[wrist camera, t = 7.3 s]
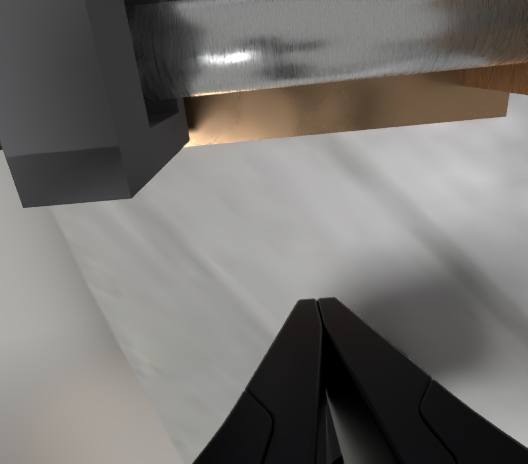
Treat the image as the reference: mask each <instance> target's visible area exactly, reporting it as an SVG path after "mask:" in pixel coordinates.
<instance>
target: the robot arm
mask: <svg viewBox="0 0 528 464" xmlns="http://www.w3.org/2000/svg"><path fill="white" fill-rule="evenodd" d="M192 464H528V448H527V447H525V446H524V445H522V444H521V443H519V442H518V441H516V440H515V439H514V438H512V437H511V436H509V435H508V434H506V433H505V432H503V431H502V430H500V429H499V428H498V427H496V426H495V425H493V424H492V423H491V422H489V421H488V420H486V419H485V418H484V417H482V416H481V415H479V414H478V413H477V412H475V411H474V410H472V409H471V408H470V407H468V406H467V405H466V404H465V403H463V402H462V401H461V400H460V399H458V398H457V397H456V396H454V395H453V394H452V393H451V392H449V391H448V390H447V389H446V388H444V387H443V386H442V385H441V384H440V383H438V382H437V381H436V380H434V379H432V377H431V376H430V375H429V374H427V373H426V372H425V371H424V370H423V369H421V368H420V367H419V366H418V365H416V364H415V363H414V362H413V361H412V360H410V359H409V358H408V357H407V356H406V355H405V354H404V353H402V352H401V351H400V350H398V349H397V348H396V347H395V346H394V345H392V344H391V343H390V342H389V341H388V340H386V339H385V338H384V337H383V336H381V335H380V334H379V333H378V332H377V331H375V330H374V329H373V328H372V327H371V326H369V325H368V324H367V323H366V322H365V321H363V320H362V319H361V318H360V317H359V316H357V315H356V314H355V313H354V312H353V311H351V310H350V309H349V308H348V307H346V306H345V305H344V304H343V303H342V302H340V301H339V300H338V299H337V298H335V297H329V298H319V299H318V300H317V301H316V299H302V300H298V301H297V303H296V305H295V306H294V308H293V310H292V311H291V313H290V315H289V316H288V318H287V320H286V321H285V323H284V325H283V326H282V328H281V330H280V331H279V333H278V335H277V336H276V338H275V340H274V341H273V343H272V345H271V346H270V348H269V350H268V351H267V353H266V355H265V356H264V358H263V360H262V361H261V363H260V365H259V366H258V368H257V370H256V371H255V373H254V375H253V376H252V378H251V380H250V381H249V383H248V385H247V386H246V388H245V391H244V392H243V393H242V394H241V396H240V398H239V399H238V401H237V403H236V405H235V406H234V408H233V409H232V411H231V412H230V414H229V415H228V417H227V418H226V420H225V421H224V423H223V424H222V426H221V427H220V428H219V430H218V431H217V432H216V434H215V435H214V436H213V438H212V439H211V440H210V442H209V443H208V444H207V446H206V447H205V448H204V449H203V451H202V452H201V453H200V454H199V456H198V457H197V458H196V459H195V461H194V462H193V463H192Z"/></svg>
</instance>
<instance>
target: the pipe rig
mask: <svg viewBox="0 0 528 464" xmlns="http://www.w3.org/2000/svg"><path fill="white" fill-rule="evenodd" d="M125 9H126V14H127V19H128V24H129V29H130V34H131V39H132V44H133V48H134V53H135V58H136V63H137V68H138V73H139V78H140V83H141V88H142V93H143V98H144V101H152V100H162V99H171V98H181V97H183V101H184V107H185V113H186V119H187V125H188V131H189V137H190V141H189V142H188V143H187V144H186V145H185V146H184V147H187V146H198V145H208V144H219V143H230V142H240V141H251V140H261V139H272V138H282V137H293V136H303V135H314V134H325V133H335V132H346V131H356V130H367V129H377V128H388V127H399V126H409V125H420V124H430V123H441V122H451V121H462V120H473V119H483V118H494V117H504V116H506V113H507V105H508V98H509V92H510V93H517V94H525V95H528V0H167V2H162V3H153V4H145V5H136V6H127V7H125ZM0 150H2V146H1V143H0Z"/></svg>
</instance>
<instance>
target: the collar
mask: <svg viewBox="0 0 528 464" xmlns="http://www.w3.org/2000/svg"><path fill="white" fill-rule="evenodd" d="M162 2H167V0H0V143H1V146H2V149H3V152H4V154H5V157H6V160H7V163H8V166H9V168H10V171H11V174H12V177H13V180H14V183H15V186H16V189H17V192H18V194H19V197H20V200H21V203H22V205H23V208H27V207H38V206H39V207H40V206H51V205H62V204H74V203H85V202H96V201H108V200H119V199H130V198H132V197H133V196H134V195H135V194H136V193H137V192H138V191H139V190H140V189H142V188H143V187H144V186H145V185H146V184H147V183H148V182H149V181H150V180H151V179H152V178H153V177H154V176H155V175H156V174H157V173H158V172H159V171H160V170H161V169H162V168H163V167H164V166H165V165H166V164H167V163H168V162H169V161H170V160H171V159H172V158H173V157H174V156H175V155H176V154H177V153H178V152H179V151H180V150H181V149H182V148H183V147H184V146H185V145H186V144H187V143H188V142H189V141H190V137H189V131H188V125H187V119H186V113H185V107H184V101H183V97H181V98H171V99H162V100H152V101H144V98H143V93H142V88H141V83H140V78H139V73H138V68H137V63H136V58H135V53H134V48H133V44H132V39H131V34H130V29H129V24H128V19H127V14H126V9H125V7H127V6H136V5H145V4H153V3H162Z"/></svg>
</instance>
